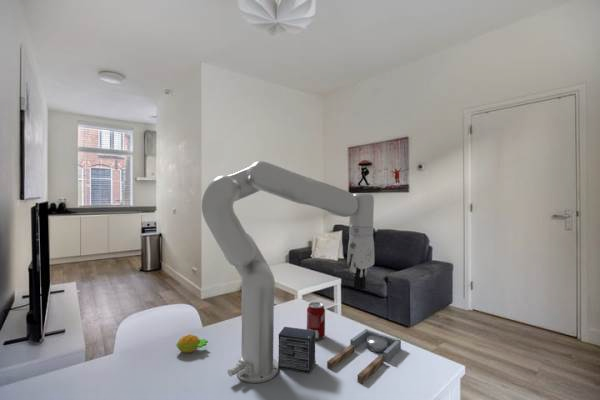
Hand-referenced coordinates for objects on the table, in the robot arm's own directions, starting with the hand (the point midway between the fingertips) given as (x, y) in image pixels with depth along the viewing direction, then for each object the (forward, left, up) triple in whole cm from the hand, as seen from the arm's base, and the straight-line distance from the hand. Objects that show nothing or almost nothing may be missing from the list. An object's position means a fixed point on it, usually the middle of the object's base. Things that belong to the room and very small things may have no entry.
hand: (359, 288), depth 96 cm
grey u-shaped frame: (+10, -1, -23) cm, 25 cm away
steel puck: (+11, -1, -23) cm, 26 cm away
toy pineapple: (-33, +45, -23) cm, 60 cm away
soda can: (+3, +20, -23) cm, 31 cm away
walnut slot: (-3, -1, -23) cm, 23 cm away
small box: (-15, +13, -23) cm, 31 cm away
